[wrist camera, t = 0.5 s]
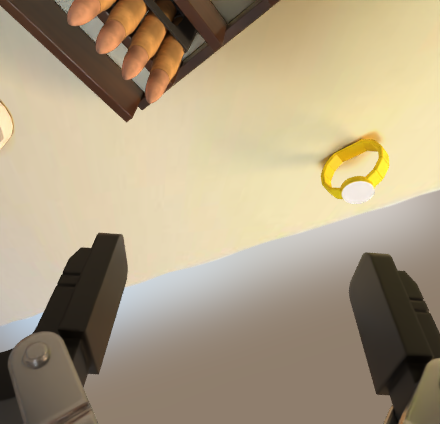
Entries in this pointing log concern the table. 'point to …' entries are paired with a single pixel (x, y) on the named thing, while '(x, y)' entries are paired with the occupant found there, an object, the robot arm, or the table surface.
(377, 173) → the watch
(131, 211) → the table surface
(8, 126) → the spray bottle
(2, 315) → the table surface
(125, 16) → the ammunition clip
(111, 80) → the slotted rack
